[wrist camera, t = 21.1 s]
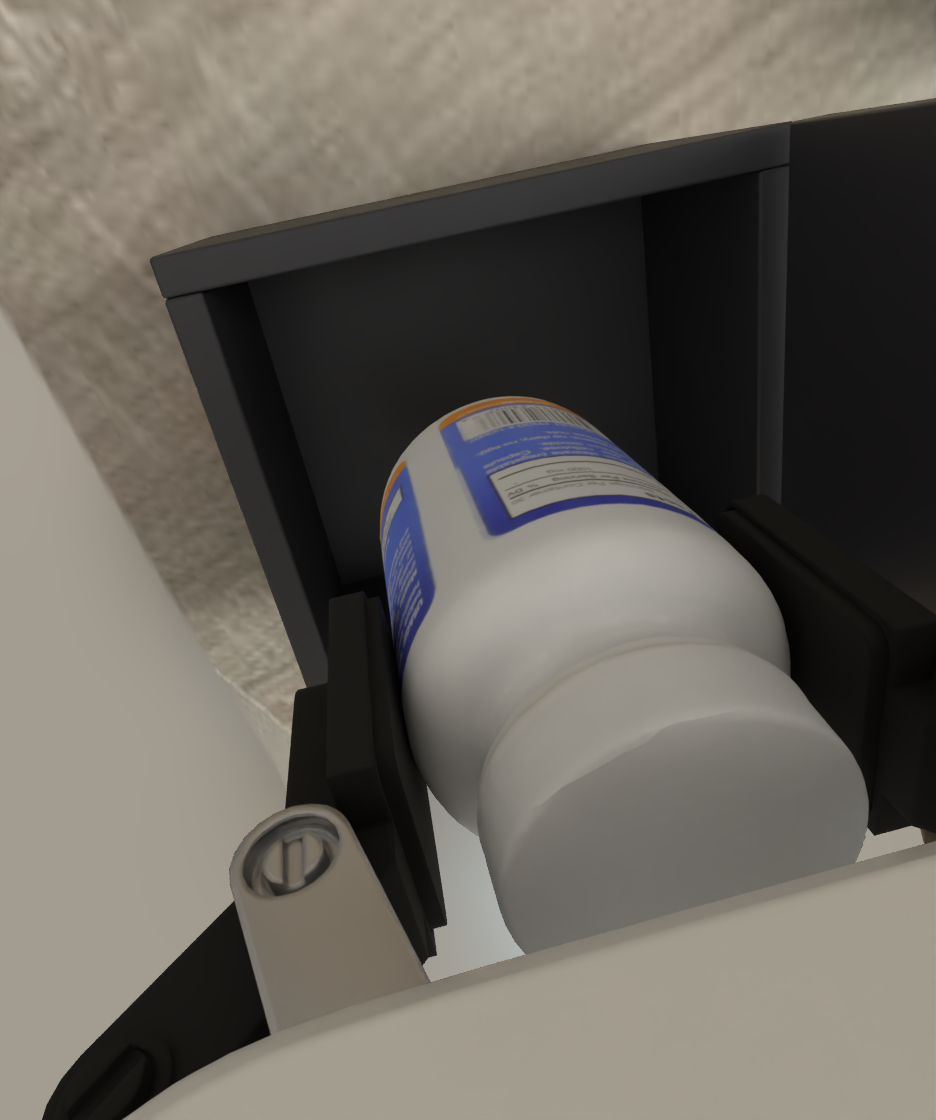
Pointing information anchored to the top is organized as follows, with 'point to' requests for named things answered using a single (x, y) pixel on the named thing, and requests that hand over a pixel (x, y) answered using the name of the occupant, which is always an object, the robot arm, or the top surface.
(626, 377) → the black storage bin
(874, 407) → the lid
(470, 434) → the pill bottle
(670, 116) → the top surface
